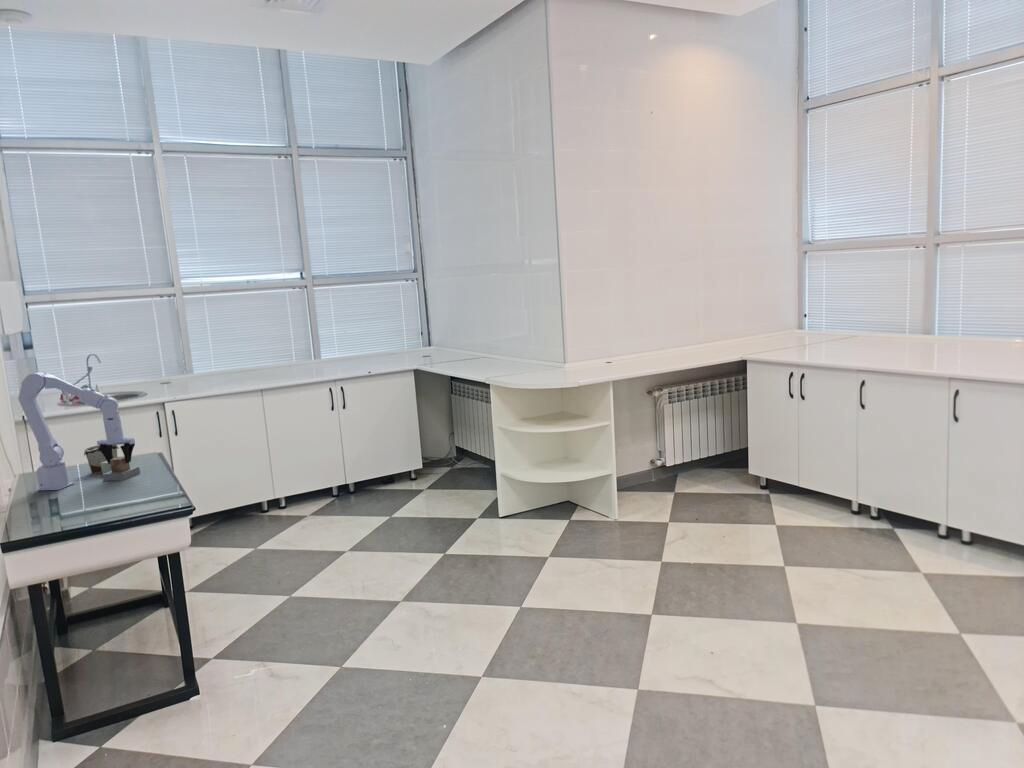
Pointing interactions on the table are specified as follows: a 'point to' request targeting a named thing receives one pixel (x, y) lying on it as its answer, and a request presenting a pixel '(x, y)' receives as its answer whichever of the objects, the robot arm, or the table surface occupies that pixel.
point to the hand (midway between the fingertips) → (119, 462)
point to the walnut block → (119, 464)
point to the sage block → (105, 467)
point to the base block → (121, 474)
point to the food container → (97, 457)
